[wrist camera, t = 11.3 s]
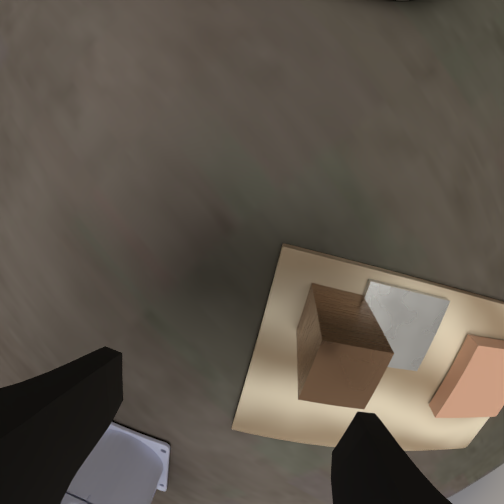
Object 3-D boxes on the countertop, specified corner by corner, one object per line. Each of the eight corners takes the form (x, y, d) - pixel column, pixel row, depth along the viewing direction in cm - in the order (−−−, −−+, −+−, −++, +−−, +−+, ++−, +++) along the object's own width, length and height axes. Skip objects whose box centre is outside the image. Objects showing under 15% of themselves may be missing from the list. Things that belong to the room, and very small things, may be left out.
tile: (427, 402, 18) (487, 404, 17) (435, 417, 16) (495, 416, 16) (466, 332, 16) (523, 342, 16) (478, 345, 15) (534, 353, 14)
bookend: (414, 366, 17) (447, 428, 11) (291, 344, 18) (290, 415, 12) (446, 298, 16) (497, 347, 10) (316, 265, 16) (331, 316, 10)
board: (463, 442, 20) (465, 447, 19) (232, 421, 21) (231, 429, 20) (540, 312, 16) (545, 316, 15) (282, 242, 17) (282, 246, 16)
